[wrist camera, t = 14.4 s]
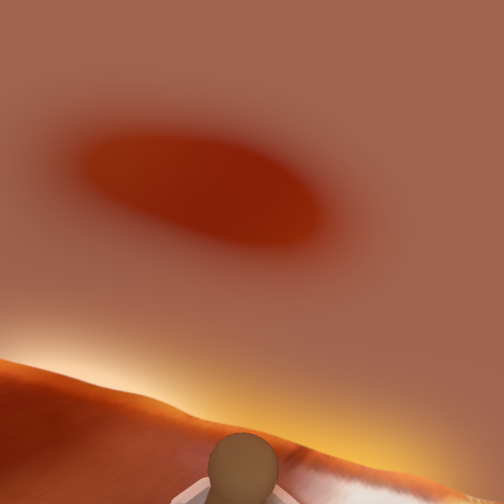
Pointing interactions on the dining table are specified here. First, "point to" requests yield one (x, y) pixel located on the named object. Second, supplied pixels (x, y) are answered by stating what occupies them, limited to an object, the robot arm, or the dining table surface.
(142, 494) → the dining table surface
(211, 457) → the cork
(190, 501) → the pink flat ring
